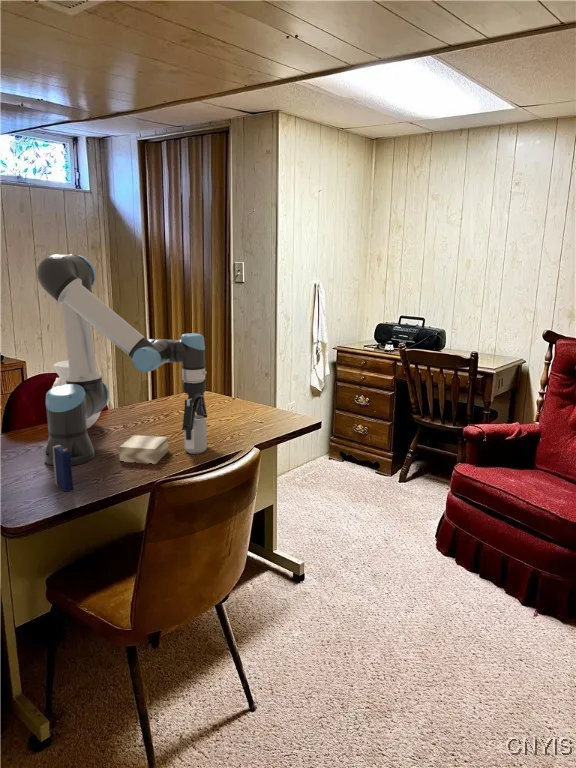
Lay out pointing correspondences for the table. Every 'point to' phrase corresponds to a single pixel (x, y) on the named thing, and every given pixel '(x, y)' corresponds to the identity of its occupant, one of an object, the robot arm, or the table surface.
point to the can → (198, 436)
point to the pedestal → (143, 449)
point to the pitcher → (63, 373)
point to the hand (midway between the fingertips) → (195, 442)
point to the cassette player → (62, 468)
